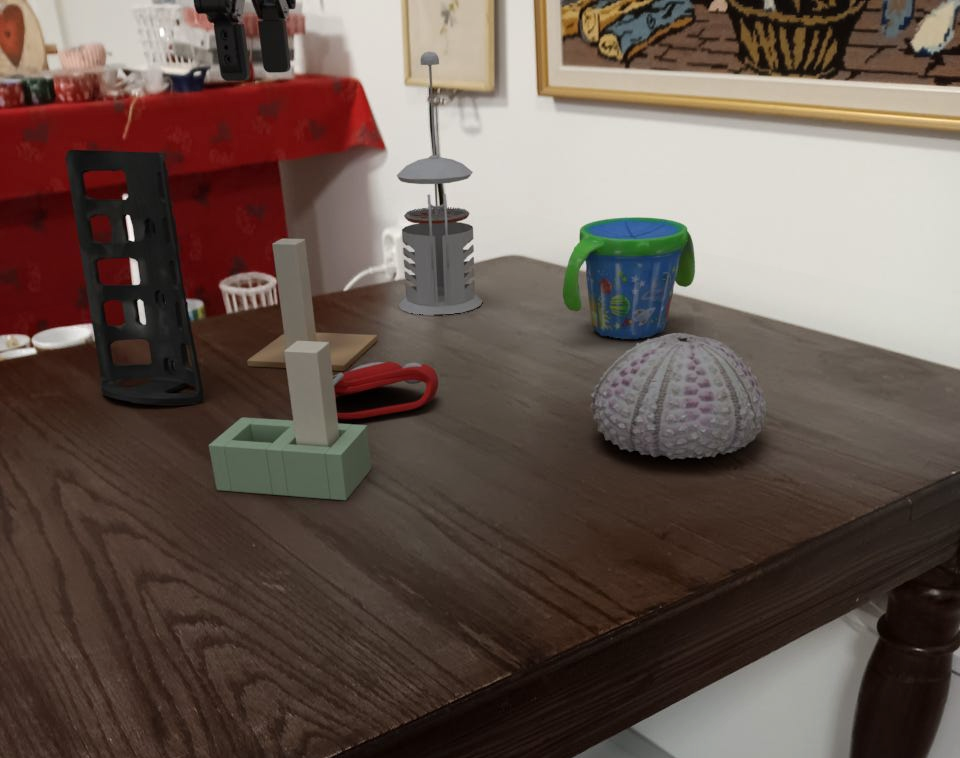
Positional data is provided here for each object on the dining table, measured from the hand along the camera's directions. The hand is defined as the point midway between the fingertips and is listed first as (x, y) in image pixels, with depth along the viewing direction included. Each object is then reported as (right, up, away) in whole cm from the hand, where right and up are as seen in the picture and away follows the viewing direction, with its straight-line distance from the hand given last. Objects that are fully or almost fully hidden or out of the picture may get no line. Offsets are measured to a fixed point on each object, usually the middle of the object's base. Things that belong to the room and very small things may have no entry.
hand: (257, 76), depth 81 cm
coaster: (+1, -17, +19) cm, 25 cm away
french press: (+14, -8, +33) cm, 36 cm away
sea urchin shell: (+34, -30, -3) cm, 45 cm away
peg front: (+7, -34, -8) cm, 36 cm away
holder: (-11, -23, +10) cm, 28 cm away
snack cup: (+33, -14, +22) cm, 43 cm away
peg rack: (+4, -34, -7) cm, 35 cm away
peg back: (0, -16, +19) cm, 25 cm away
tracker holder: (+8, -26, +6) cm, 28 cm away
